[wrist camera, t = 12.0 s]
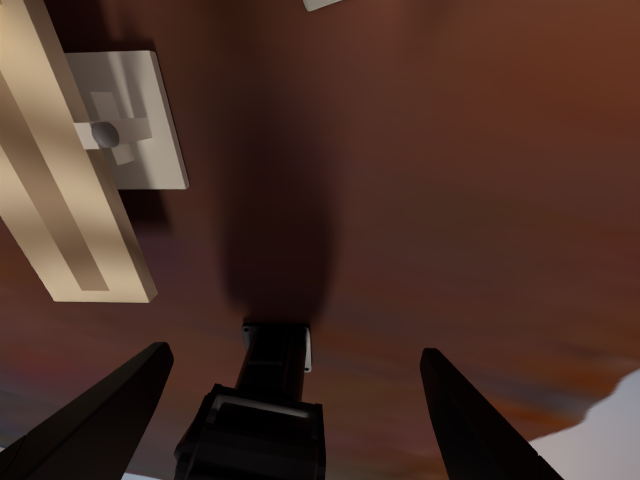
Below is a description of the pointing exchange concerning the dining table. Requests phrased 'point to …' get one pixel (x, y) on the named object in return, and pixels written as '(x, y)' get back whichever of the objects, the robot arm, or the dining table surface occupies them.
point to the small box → (317, 4)
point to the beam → (59, 172)
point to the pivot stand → (129, 118)
